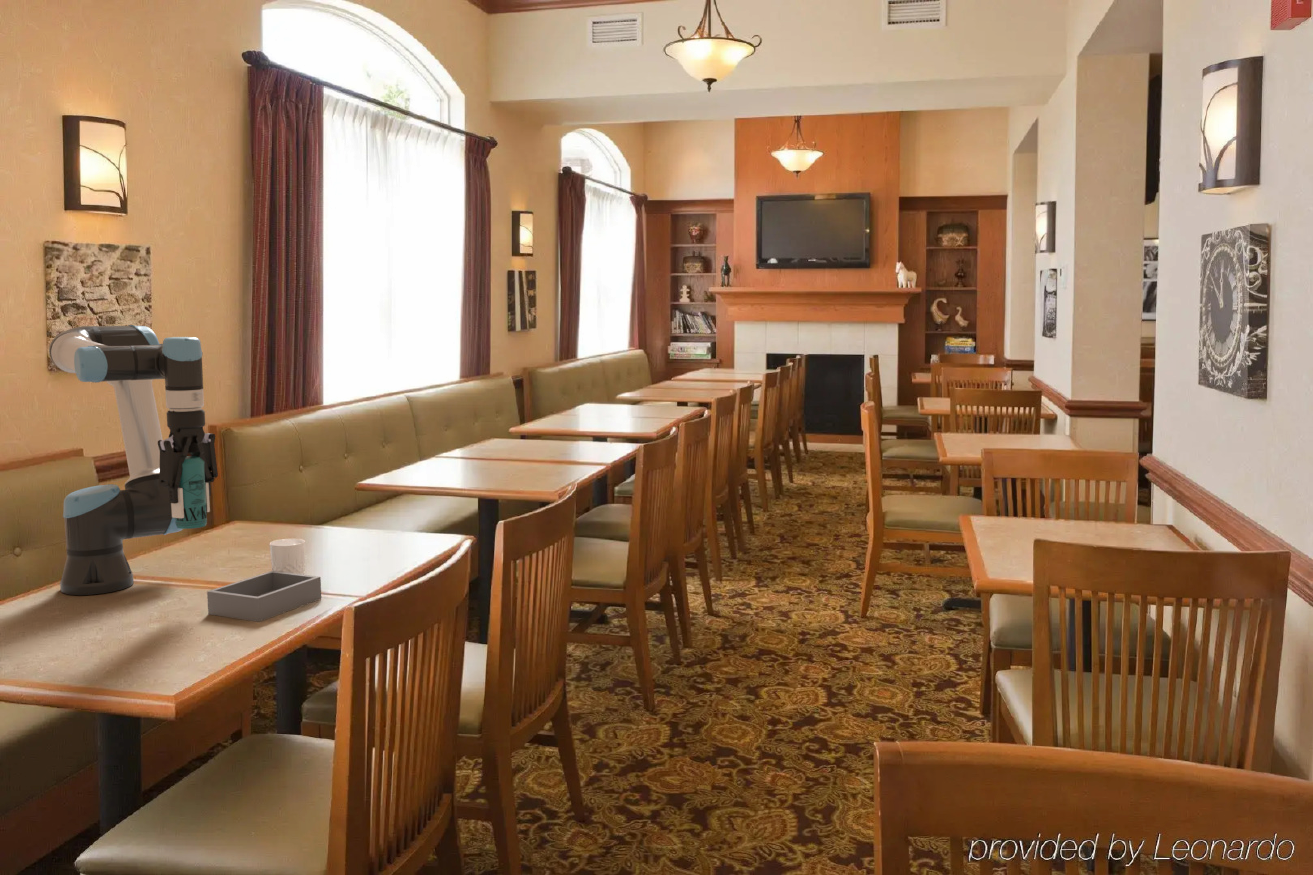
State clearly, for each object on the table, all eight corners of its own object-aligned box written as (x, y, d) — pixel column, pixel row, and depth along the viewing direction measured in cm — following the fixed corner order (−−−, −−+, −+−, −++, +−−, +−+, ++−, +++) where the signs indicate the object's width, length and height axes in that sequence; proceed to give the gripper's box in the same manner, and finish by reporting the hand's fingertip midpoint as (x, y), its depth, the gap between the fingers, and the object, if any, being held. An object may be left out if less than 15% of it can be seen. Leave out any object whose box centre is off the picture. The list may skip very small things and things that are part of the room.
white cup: (312, 579, 255) (310, 538, 253) (298, 588, 247) (296, 546, 246) (280, 578, 255) (278, 538, 254) (265, 587, 248) (263, 545, 246)
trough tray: (208, 614, 226) (207, 591, 226) (272, 592, 244) (271, 570, 243) (259, 621, 221) (257, 598, 220) (321, 598, 238) (320, 576, 237)
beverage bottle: (168, 534, 230) (163, 442, 227) (192, 528, 236) (187, 439, 233) (192, 536, 228) (187, 444, 225) (215, 530, 234) (210, 440, 231)
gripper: (161, 414, 218) (167, 524, 221) (233, 405, 236) (238, 507, 239) (134, 412, 221) (141, 521, 224) (207, 404, 238) (212, 505, 242)
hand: (191, 514), depth 231 cm, fingers closed on beverage bottle, 6 cm apart
